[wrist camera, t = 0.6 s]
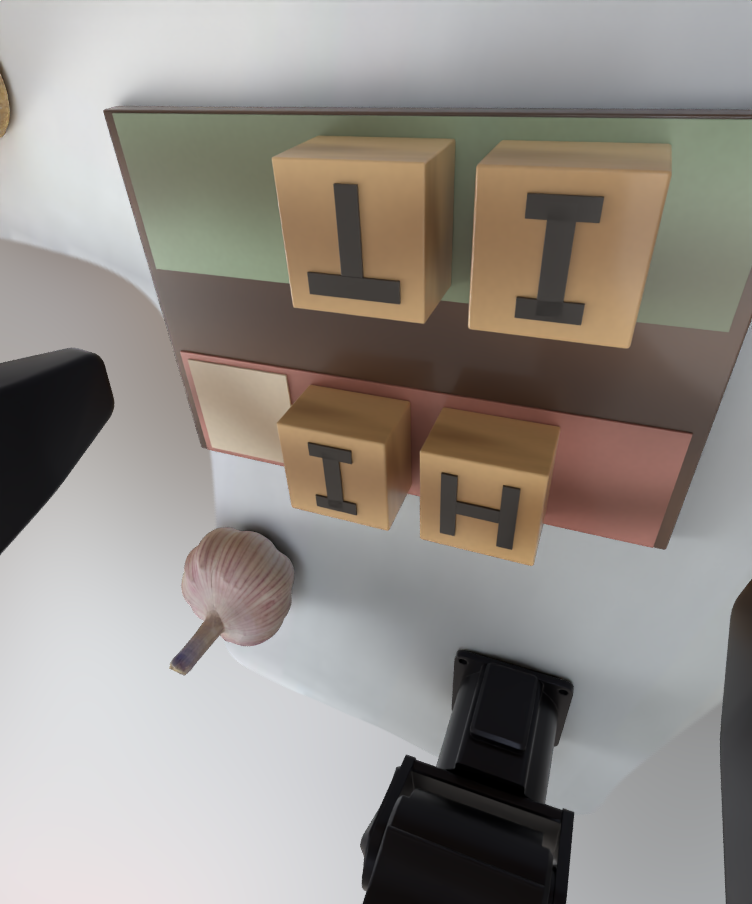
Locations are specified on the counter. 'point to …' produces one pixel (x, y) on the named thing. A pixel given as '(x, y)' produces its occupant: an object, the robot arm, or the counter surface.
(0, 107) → the sprinkles bottle
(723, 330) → the letter board
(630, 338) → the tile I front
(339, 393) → the tile
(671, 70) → the counter surface
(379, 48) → the counter surface
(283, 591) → the garlic bulb
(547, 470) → the tile
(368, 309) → the tile
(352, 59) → the counter surface
